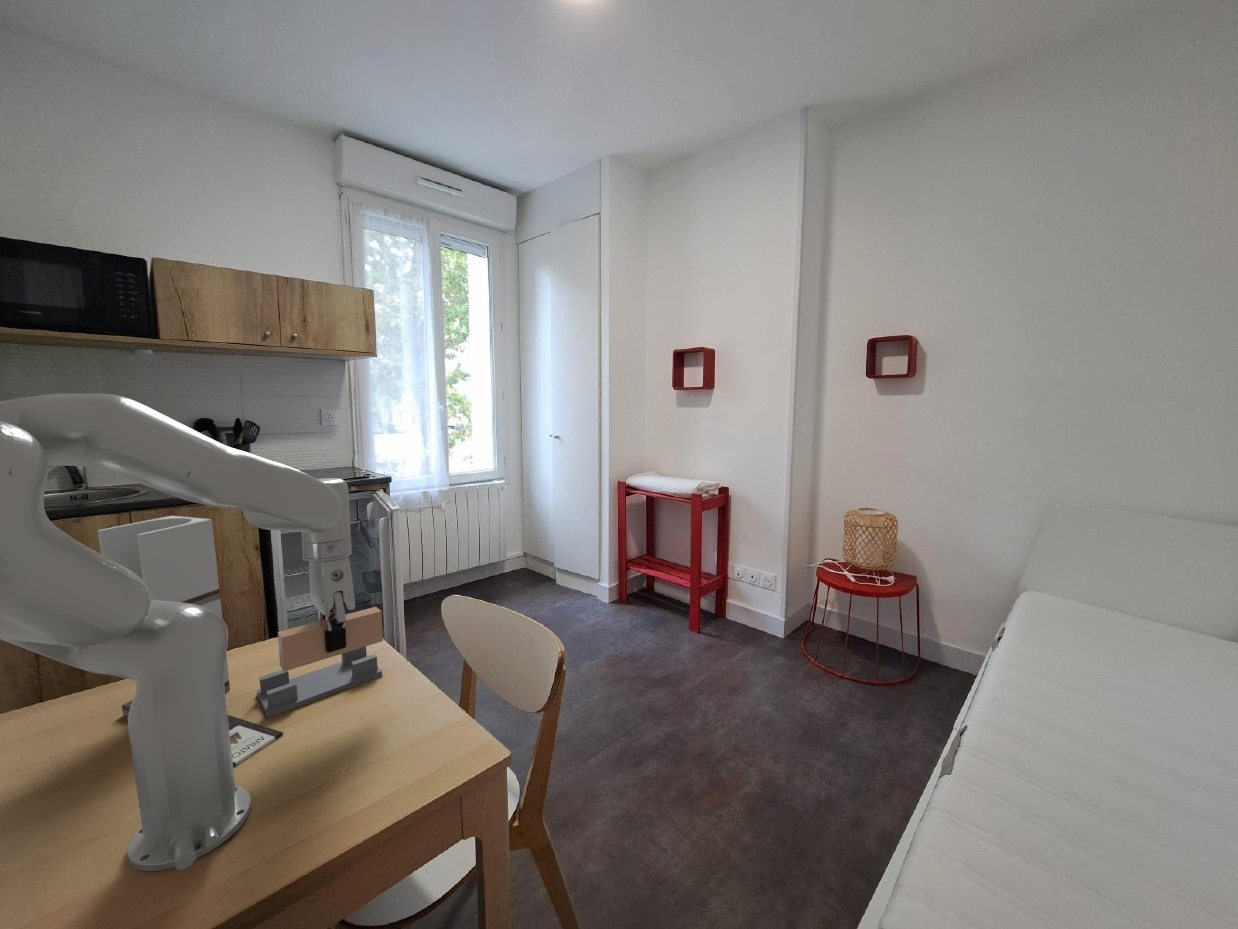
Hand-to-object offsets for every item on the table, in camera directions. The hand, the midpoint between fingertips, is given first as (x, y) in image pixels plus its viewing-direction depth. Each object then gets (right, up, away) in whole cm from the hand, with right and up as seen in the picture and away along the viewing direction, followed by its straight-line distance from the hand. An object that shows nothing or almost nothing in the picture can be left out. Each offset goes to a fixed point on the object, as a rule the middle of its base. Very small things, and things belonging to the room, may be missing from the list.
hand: (333, 645), depth 90 cm
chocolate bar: (-16, -15, -5) cm, 23 cm away
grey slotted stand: (-8, -12, +11) cm, 18 cm away
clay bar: (0, -1, 0) cm, 1 cm away
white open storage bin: (-32, -13, +5) cm, 35 cm away
